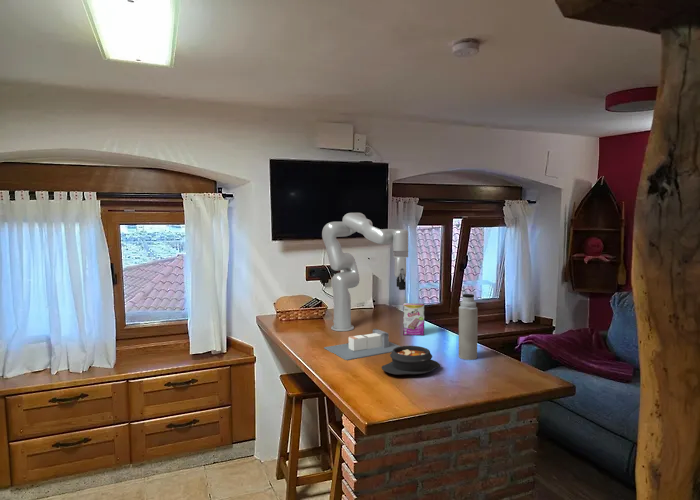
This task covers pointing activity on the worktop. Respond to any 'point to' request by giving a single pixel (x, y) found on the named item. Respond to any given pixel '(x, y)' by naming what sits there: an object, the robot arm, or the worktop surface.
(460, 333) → the thermos bottle
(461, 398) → the worktop surface
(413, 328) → the candy bar box
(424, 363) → the casserole
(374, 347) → the grey board with blocks
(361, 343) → the white and peach box
